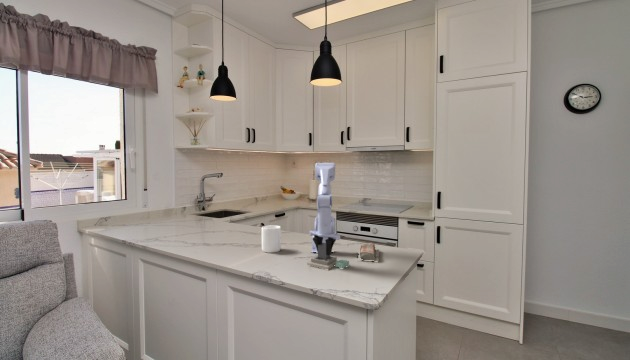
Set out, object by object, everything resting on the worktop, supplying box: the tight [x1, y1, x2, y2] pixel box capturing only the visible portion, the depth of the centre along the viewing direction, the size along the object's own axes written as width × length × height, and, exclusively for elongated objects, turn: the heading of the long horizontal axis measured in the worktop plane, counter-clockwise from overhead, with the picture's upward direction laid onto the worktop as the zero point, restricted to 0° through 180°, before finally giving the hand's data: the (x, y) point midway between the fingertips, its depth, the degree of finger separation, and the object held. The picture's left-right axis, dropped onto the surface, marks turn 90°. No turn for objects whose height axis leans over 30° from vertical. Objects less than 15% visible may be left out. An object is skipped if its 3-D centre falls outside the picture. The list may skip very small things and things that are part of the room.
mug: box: [261, 224, 282, 254], centre depth 152 cm, size 10×12×12 cm
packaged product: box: [359, 242, 380, 262], centre depth 144 cm, size 18×5×10 cm
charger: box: [317, 243, 332, 260], centre depth 131 cm, size 4×4×6 cm
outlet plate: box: [306, 255, 342, 270], centre depth 132 cm, size 10×12×3 cm
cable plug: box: [334, 258, 350, 269], centre depth 129 cm, size 4×6×2 cm, turn 140°
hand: (324, 254), depth 131 cm, fingers closed on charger, 4 cm apart
